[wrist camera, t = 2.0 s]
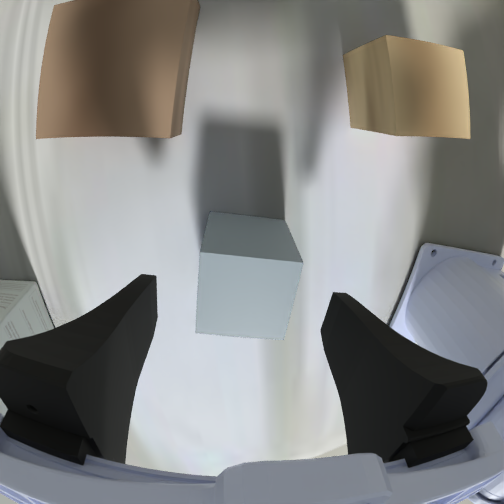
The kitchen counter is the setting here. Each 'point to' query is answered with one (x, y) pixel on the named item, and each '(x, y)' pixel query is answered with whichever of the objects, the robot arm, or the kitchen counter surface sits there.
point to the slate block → (246, 277)
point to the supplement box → (21, 313)
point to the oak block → (408, 88)
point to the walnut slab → (116, 68)
